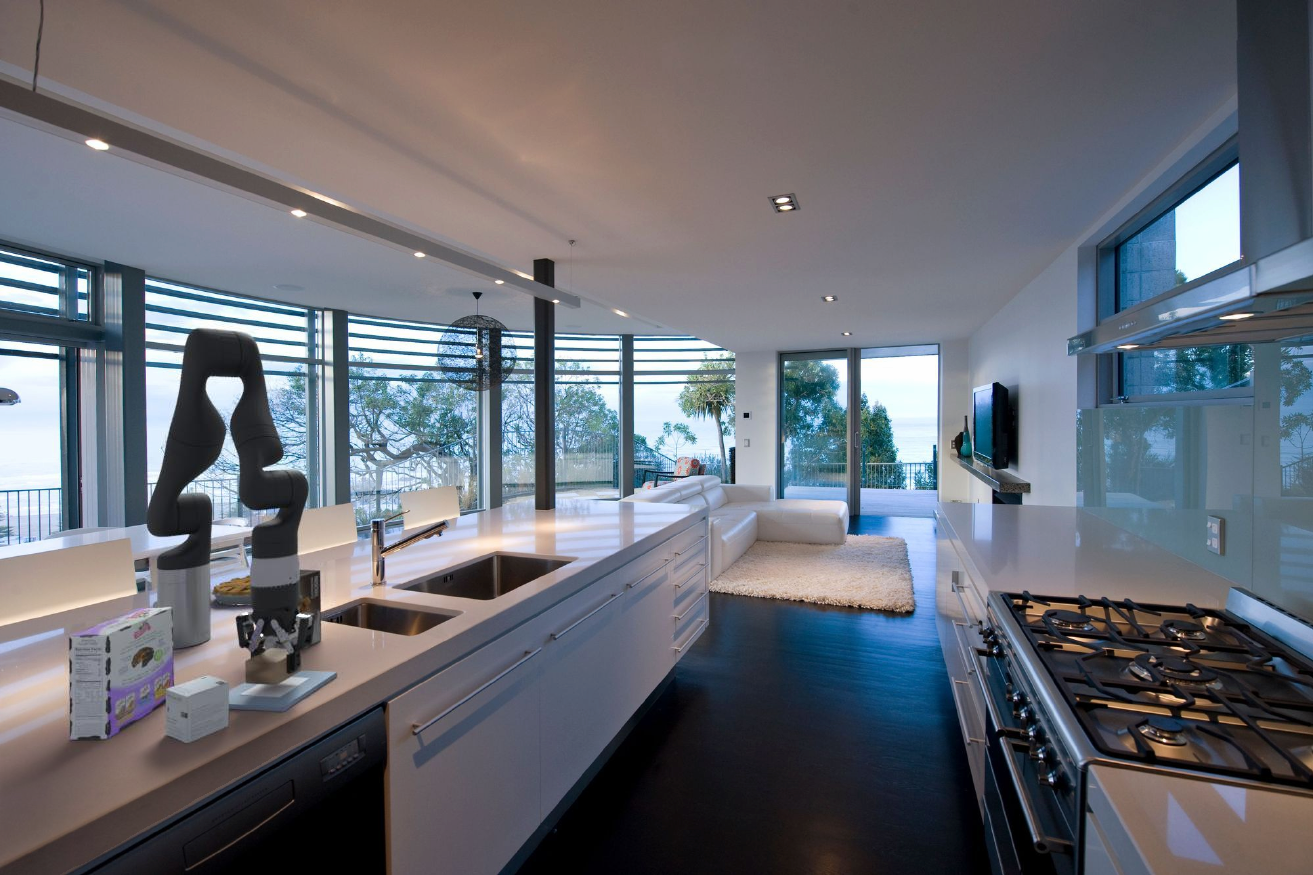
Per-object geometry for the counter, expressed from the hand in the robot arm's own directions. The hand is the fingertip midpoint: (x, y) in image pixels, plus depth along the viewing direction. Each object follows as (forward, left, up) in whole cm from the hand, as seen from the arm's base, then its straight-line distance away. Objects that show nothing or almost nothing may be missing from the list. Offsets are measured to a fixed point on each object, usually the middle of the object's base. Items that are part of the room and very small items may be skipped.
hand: (275, 670), depth 105 cm
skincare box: (-2, -14, -4) cm, 15 cm away
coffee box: (-12, +20, -4) cm, 24 cm away
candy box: (-17, -11, -4) cm, 21 cm away
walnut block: (0, 0, -1) cm, 1 cm away
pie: (-49, +55, -4) cm, 74 cm away
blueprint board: (0, 0, -4) cm, 4 cm away
